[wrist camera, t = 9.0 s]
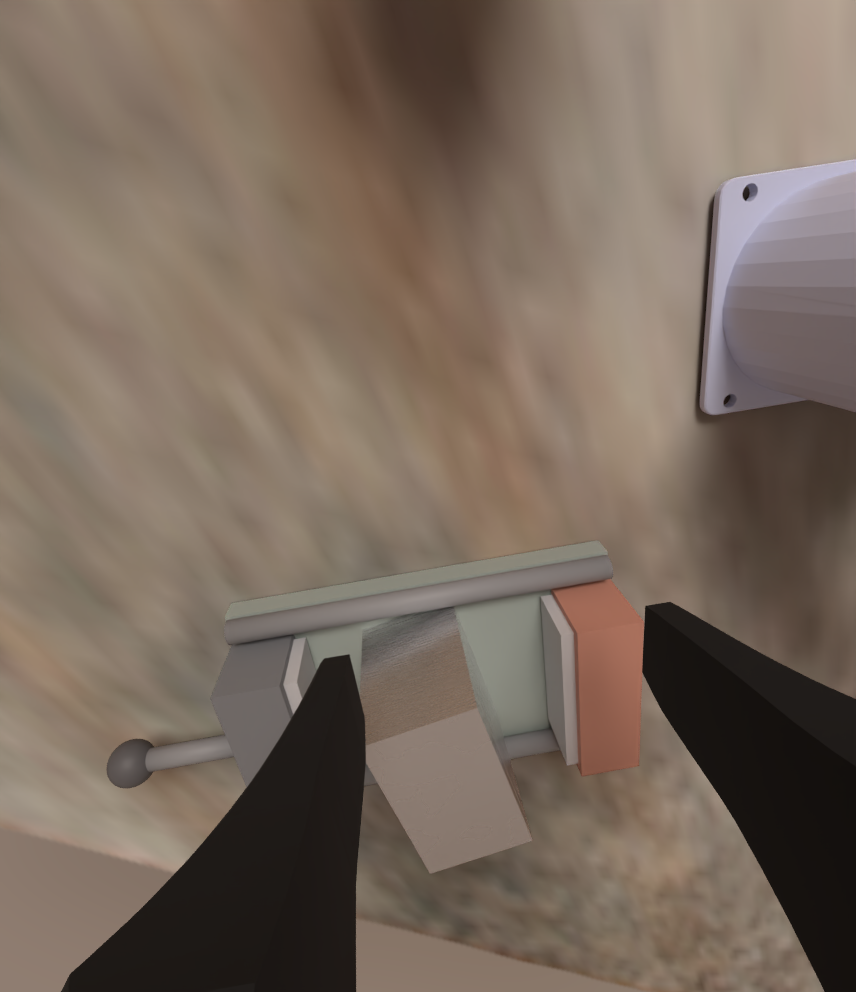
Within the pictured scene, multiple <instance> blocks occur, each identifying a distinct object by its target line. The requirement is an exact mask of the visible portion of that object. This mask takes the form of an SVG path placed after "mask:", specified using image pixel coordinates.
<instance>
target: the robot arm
mask: <svg viewBox="0 0 856 992" xmlns="http://www.w3.org/2000/svg"><path fill="white" fill-rule="evenodd" d="M746 186H747V187H748V188H749V190H750V195H749V198H748V199H747V200H746V201H745V200H744V199H743V196H742V193H743V190H744V188H745V187H746ZM729 394H730V400H729V402H728V403H727V404H725V405H724V403H723V401H724V398H725V397H726V396H727V395H729ZM805 400H812V401H815V402H819V403H823V404H827V405H830V406H834V407H838V408H841V409H845V410H849V411H852V412H856V159H854V160H848V161H841V162H835V163H828V164H821V165H815V166H808V167H802V168H795V169H788V170H782V171H775V172H769V173H762V174H755V175H749V176H742V177H736V178H732V179H729V180H727V181H724V182H723V183H722V184H721V185H720V186H719V187H718V189H717V191H716V193H715V198H714V210H713V224H712V237H711V251H710V265H709V279H708V293H707V307H706V320H705V334H704V348H703V362H702V376H701V390H700V408H701V410H702V411H703V412H705V413H707V414H709V415H720V414H726V413H732V412H738V411H744V410H750V409H756V408H762V407H768V406H774V405H780V404H786V403H793V402H799V401H805ZM642 672H643V674H644V677H645V679H646V681H647V683H648V685H649V687H650V689H651V691H652V693H653V695H654V697H655V698H656V700H657V702H658V704H659V706H660V708H661V710H662V712H663V713H664V715H665V716H666V718H667V719H668V721H669V722H670V724H671V725H672V727H673V728H674V730H675V731H676V733H677V734H678V736H679V737H680V739H681V740H682V742H683V743H684V745H685V746H686V748H687V749H688V751H689V752H690V753H691V755H692V756H693V758H694V759H695V761H696V762H697V764H698V765H699V767H700V768H701V770H702V771H703V773H704V774H705V776H706V777H707V778H708V780H709V781H710V783H711V784H712V786H713V787H714V789H715V790H716V792H717V793H718V795H719V796H720V798H721V799H722V801H723V802H724V804H725V805H726V807H727V809H728V810H729V812H730V813H731V815H732V817H733V818H734V820H735V821H736V823H737V825H738V827H739V829H740V830H741V832H742V834H743V836H744V838H745V839H746V841H747V843H748V845H749V847H750V848H751V850H752V852H753V854H754V856H755V857H756V859H757V861H758V863H759V865H760V866H761V868H762V870H763V872H764V874H765V876H766V878H767V879H768V881H769V883H770V885H771V887H772V889H773V891H774V893H775V895H776V896H777V898H778V900H779V902H780V904H781V906H782V908H783V910H784V912H785V913H786V915H787V917H788V919H789V921H790V923H791V925H792V927H793V929H794V931H795V933H796V935H797V937H798V939H799V941H800V943H801V945H802V947H803V949H804V951H805V953H806V955H807V957H808V959H809V961H810V963H811V965H812V967H813V969H814V971H815V973H816V975H817V977H818V979H819V981H820V983H821V985H822V987H823V989H824V991H825V992H856V699H854V698H852V697H850V696H847V695H845V694H843V693H840V692H838V691H836V690H834V689H831V688H829V687H827V686H825V685H823V684H820V683H818V682H816V681H814V680H812V679H810V678H808V677H806V676H804V675H802V674H800V673H798V672H796V671H794V670H792V669H790V668H788V667H786V666H784V665H782V664H780V663H778V662H776V661H774V660H773V659H771V658H769V657H767V656H765V655H763V654H761V653H759V652H758V651H756V650H754V649H752V648H750V647H749V646H747V645H745V644H743V643H741V642H740V641H738V640H736V639H734V638H733V637H731V636H729V635H727V634H726V633H724V632H722V631H720V630H719V629H717V628H715V627H714V626H712V625H710V624H708V623H707V622H705V621H703V620H702V619H700V618H698V617H696V616H695V615H693V614H691V613H689V612H688V611H686V610H684V609H682V608H681V607H679V606H677V605H675V604H673V603H671V602H667V603H661V604H655V605H648V606H645V626H644V646H643V665H642ZM365 766H366V739H365V716H364V712H363V708H362V704H361V700H360V695H359V691H358V687H357V683H356V679H355V675H354V671H353V666H352V662H351V658H350V654H348V655H342V656H335V657H329V658H324V659H323V660H322V662H321V663H320V665H319V667H318V669H317V671H316V673H315V675H314V677H313V679H312V681H311V683H310V685H309V687H308V689H307V691H306V693H305V695H304V697H303V698H302V700H301V702H300V704H299V706H298V708H297V709H296V711H295V713H294V715H293V716H292V718H291V720H290V721H289V723H288V725H287V727H286V728H285V730H284V732H283V734H282V735H281V737H280V738H279V740H278V742H277V743H276V745H275V746H274V748H273V749H272V751H271V752H270V754H269V755H268V757H267V759H266V760H265V762H264V763H263V765H262V766H261V768H260V769H259V771H258V772H257V774H256V775H255V776H254V778H253V779H252V781H251V782H250V784H249V785H248V786H247V788H246V789H245V790H244V792H243V793H242V795H241V796H240V797H239V798H238V800H237V801H236V802H235V804H234V805H233V806H232V808H231V809H230V810H229V812H228V813H227V814H226V815H225V817H224V818H223V819H222V820H221V821H220V823H219V824H218V825H217V826H216V827H215V829H214V830H213V831H212V832H211V834H210V835H209V836H208V837H207V838H206V840H205V841H204V842H203V843H202V844H201V845H200V847H199V848H198V849H197V850H196V851H195V852H194V853H193V855H192V856H191V857H190V858H189V859H188V860H187V861H186V862H185V863H184V865H183V866H182V867H181V868H180V869H179V870H178V871H177V872H176V873H175V874H174V875H173V876H172V877H171V878H170V879H169V880H168V881H167V882H166V884H165V885H164V886H163V887H162V888H161V889H160V890H159V891H158V892H157V893H156V894H155V895H154V896H153V897H152V898H151V899H150V900H149V901H148V902H147V903H146V904H145V905H144V906H143V907H142V908H141V909H140V910H139V911H138V912H137V913H136V914H135V915H134V916H133V917H132V918H131V919H130V920H129V921H128V922H127V923H126V924H125V925H124V926H122V927H121V928H120V929H119V930H118V931H117V932H116V933H115V934H114V935H113V936H111V937H110V938H109V939H108V940H107V941H106V942H105V943H104V944H103V945H102V946H101V947H100V948H98V949H97V950H96V951H95V952H94V953H93V954H92V955H91V956H90V957H89V958H88V959H86V960H85V961H84V962H83V963H82V964H81V965H80V966H79V967H77V968H76V969H75V970H74V971H73V972H72V973H71V974H70V975H69V977H68V979H67V981H66V983H65V985H64V987H63V989H62V991H61V992H356V875H357V859H358V847H359V836H360V825H361V813H362V802H363V790H364V779H365Z"/></svg>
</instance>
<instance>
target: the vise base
mask: <svg viewBox="0 0 856 992" xmlns="http://www.w3.org/2000/svg"><path fill="white" fill-rule="evenodd" d="M612 577H613V567H612V563H611V561H610V559H609V557H608V551H607V550H606V549H605V548H604V547H603V546H602V544H601V543H600V542H599V541H598V540H597V541H591V542H586V543H580V544H574V545H568V546H562V547H557V548H551V549H545V550H539V551H533V552H527V553H522V554H516V555H510V556H504V557H498V558H493V559H487V560H481V561H475V562H469V563H463V564H458V565H452V566H446V567H440V568H434V569H428V570H423V571H417V572H411V573H405V574H399V575H394V576H388V577H382V578H376V579H370V580H364V581H359V582H353V583H347V584H341V585H335V586H330V587H324V588H318V589H312V590H306V591H300V592H295V593H289V594H283V595H277V596H271V597H265V598H260V599H254V600H248V601H242V602H236V603H231V605H230V607H229V609H228V612H227V614H226V616H225V620H226V622H225V626H224V635H225V639H226V642H227V644H228V645H232V646H231V648H230V651H229V653H228V656H227V658H226V661H225V663H224V666H223V668H222V670H221V673H220V675H219V678H218V680H217V683H216V685H215V688H214V690H213V693H212V695H211V698H210V699H211V702H212V704H213V707H214V709H215V712H216V714H217V716H218V719H219V721H220V724H221V726H222V729H223V731H224V733H225V735H220V736H214V737H208V738H203V739H197V740H192V741H186V742H181V743H175V744H169V745H164V746H158V747H154V746H153V745H152V744H151V743H150V742H148V741H146V740H143V739H132V740H129V741H126V742H124V743H122V744H121V745H119V746H118V747H117V748H116V749H115V750H114V751H113V753H112V754H111V756H110V758H109V760H108V763H107V775H108V778H109V780H110V781H111V782H112V783H113V784H114V785H115V786H117V787H120V788H132V787H136V786H138V785H140V784H142V783H143V782H145V781H146V780H147V779H148V778H149V777H150V776H151V774H152V773H153V771H158V770H164V769H170V768H175V767H181V766H186V765H192V764H197V763H203V762H208V761H214V760H219V759H225V758H230V757H234V758H235V760H236V762H237V765H238V767H239V770H240V772H241V775H242V777H243V779H244V782H245V784H246V787H247V786H248V785H249V784H250V782H251V781H252V779H253V778H254V776H255V775H256V774H257V772H258V771H259V769H260V768H261V766H262V765H263V763H264V762H265V760H266V759H267V757H268V755H269V754H270V752H271V751H272V749H273V748H274V746H275V745H276V743H277V742H278V740H279V738H280V737H281V735H282V734H283V732H284V730H285V728H286V727H287V725H288V723H289V721H290V720H291V718H292V716H293V715H294V713H295V711H296V709H297V708H298V706H299V704H300V702H301V700H302V698H303V697H304V695H305V693H306V691H307V689H308V687H309V685H310V683H311V681H312V679H313V677H314V675H315V673H316V671H317V669H318V667H319V665H320V663H321V662H322V660H323V659H324V658H329V657H335V656H342V655H348V654H350V658H351V662H352V666H353V671H354V675H355V679H356V683H357V687H358V691H359V695H360V681H361V657H362V633H363V629H365V628H368V627H371V626H374V625H377V624H380V623H383V622H385V621H388V620H391V619H394V618H397V617H400V616H403V615H406V614H412V613H418V612H423V611H429V610H435V609H440V608H446V607H452V606H455V609H456V611H457V614H458V616H459V619H460V621H461V624H462V626H463V629H464V631H465V634H466V636H467V639H468V641H469V644H470V646H471V649H472V651H473V654H474V656H475V659H476V661H477V664H478V666H479V669H480V671H481V674H482V676H483V679H484V681H485V684H486V686H487V689H488V691H489V694H490V696H491V699H492V701H493V704H494V706H495V709H496V711H497V714H498V718H499V721H500V725H501V729H502V732H503V736H504V739H505V743H506V746H507V750H508V754H509V757H510V759H515V758H520V757H525V756H531V755H536V754H542V753H547V752H553V751H558V750H561V749H560V747H559V744H558V742H557V739H556V737H555V734H554V732H553V729H552V726H551V724H550V721H549V719H548V707H547V691H546V676H545V660H544V644H543V629H542V613H541V597H540V596H546V595H551V589H555V588H561V587H567V586H573V585H578V584H584V583H590V582H595V581H601V580H607V579H612ZM373 784H378V783H377V781H376V779H375V778H374V776H373V774H372V772H371V771H370V769H369V767H368V765H367V764H366V766H365V779H364V786H368V785H373Z"/></svg>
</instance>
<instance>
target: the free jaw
mask: <svg viewBox="0 0 856 992" xmlns="http://www.w3.org/2000/svg"><path fill="white" fill-rule="evenodd" d="M540 597H541V613H542V629H543V644H544V660H545V676H546V691H547V707H548V719H549V721H550V724H551V726H552V729H553V732H554V734H555V737H556V739H557V742H558V744H559V747H560V749H561V752H562V754H563V757H564V760H565V762H566V765H572V764H577V766H578V769H579V771H580V773H581V776H587V775H593V774H598V773H603V772H609V771H614V770H620V769H625V768H630V767H636V766H639V749H640V719H641V690H642V660H643V631H644V621H643V620H642V619H641V618H640V616H639V615H638V614H637V613H636V611H635V610H634V609H633V608H632V606H631V605H630V604H629V602H628V601H627V600H626V599H625V597H624V596H623V595H622V594H621V592H620V591H619V590H618V588H617V587H616V586H615V585H614V583H613V582H612V581H611V580H610V579H607V580H601V581H595V582H590V583H584V584H578V585H573V586H567V587H561V588H555V589H551V595H546V596H540Z"/></svg>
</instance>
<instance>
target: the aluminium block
mask: <svg viewBox="0 0 856 992" xmlns="http://www.w3.org/2000/svg"><path fill="white" fill-rule="evenodd" d="M360 700H361V704H362V708H363V712H364V716H365V739H366V764H367V765H368V767H369V769H370V771H371V772H372V774H373V776H374V778H375V779H376V781H377V783H378V784H379V786H380V788H381V790H382V791H383V793H384V795H385V797H386V798H387V800H388V802H389V803H390V805H391V807H392V809H393V810H394V812H395V814H396V816H397V817H398V819H399V821H400V823H401V824H402V826H403V828H404V829H405V831H406V833H407V835H408V836H409V838H410V840H411V842H412V843H413V845H414V847H415V848H416V850H417V852H418V854H419V855H420V857H421V859H422V861H423V862H424V864H425V866H426V868H427V869H428V871H429V873H430V874H431V873H435V872H438V871H441V870H444V869H447V868H450V867H453V866H456V865H459V864H462V863H466V862H469V861H472V860H475V859H478V858H481V857H484V856H487V855H490V854H494V853H497V852H500V851H503V850H506V849H509V848H512V847H515V846H518V845H522V844H525V843H528V842H531V841H533V840H532V836H531V832H530V829H529V825H528V822H527V818H526V815H525V811H524V807H523V804H522V800H521V797H520V793H519V789H518V786H517V782H516V779H515V775H514V772H513V768H512V764H511V761H510V757H509V754H508V750H507V746H506V743H505V739H504V736H503V732H502V729H501V725H500V721H499V718H498V714H497V711H496V709H495V706H494V704H493V701H492V699H491V696H490V694H489V691H488V689H487V686H486V684H485V681H484V679H483V676H482V674H481V671H480V669H479V666H478V664H477V661H476V659H475V656H474V654H473V651H472V649H471V646H470V644H469V641H468V639H467V636H466V634H465V631H464V629H463V626H462V624H461V621H460V619H459V616H458V614H457V611H456V609H455V606H452V607H446V608H440V609H435V610H429V611H423V612H418V613H412V614H406V615H403V616H400V617H397V618H394V619H391V620H388V621H385V622H383V623H380V624H377V625H374V626H371V627H368V628H365V629H363V633H362V657H361V681H360Z"/></svg>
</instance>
